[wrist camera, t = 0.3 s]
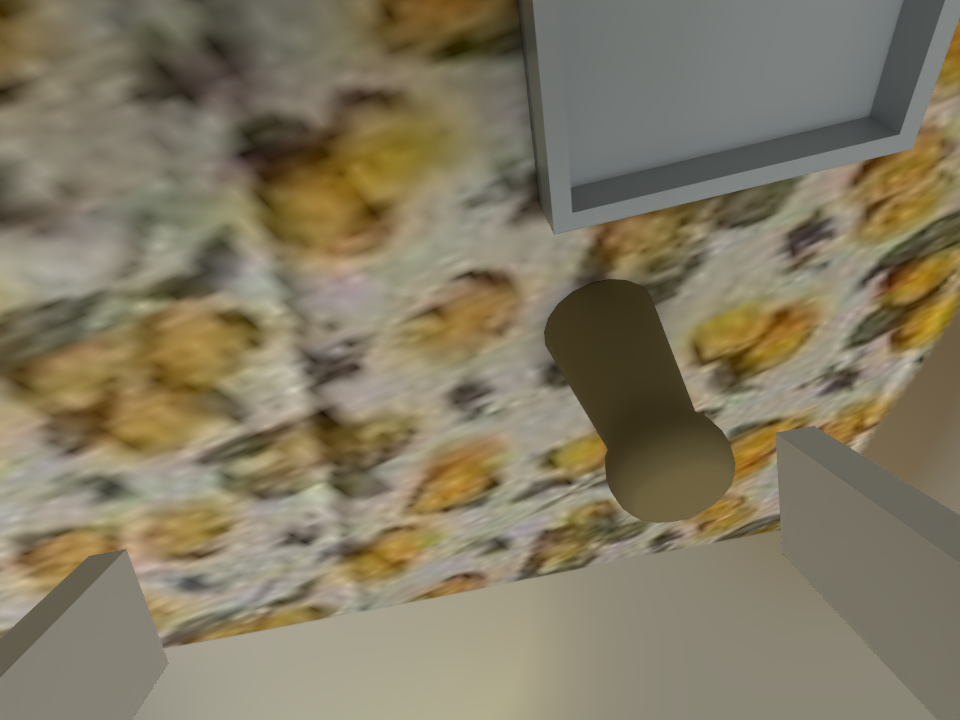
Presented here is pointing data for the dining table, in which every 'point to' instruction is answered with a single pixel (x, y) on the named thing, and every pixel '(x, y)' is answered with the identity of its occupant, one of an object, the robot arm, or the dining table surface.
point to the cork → (638, 403)
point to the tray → (717, 94)
